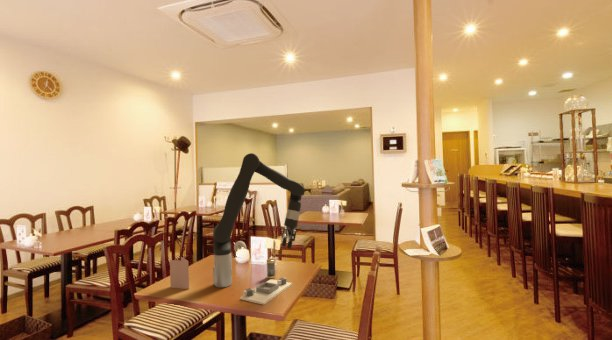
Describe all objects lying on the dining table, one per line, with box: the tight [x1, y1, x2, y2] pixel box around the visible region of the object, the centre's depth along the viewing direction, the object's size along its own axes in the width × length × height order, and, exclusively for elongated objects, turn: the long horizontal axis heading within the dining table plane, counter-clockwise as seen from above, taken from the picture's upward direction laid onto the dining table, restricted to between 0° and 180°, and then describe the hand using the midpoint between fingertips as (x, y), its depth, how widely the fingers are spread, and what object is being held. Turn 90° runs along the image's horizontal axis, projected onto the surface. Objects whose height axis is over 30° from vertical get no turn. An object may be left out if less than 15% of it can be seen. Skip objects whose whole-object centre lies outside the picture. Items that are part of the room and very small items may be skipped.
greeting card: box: [169, 256, 190, 290], centre depth 163 cm, size 11×7×15 cm, turn 41°
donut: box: [233, 240, 247, 253], centre depth 224 cm, size 10×4×10 cm, turn 71°
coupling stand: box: [239, 277, 293, 306], centre depth 154 cm, size 14×26×4 cm, turn 152°
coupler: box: [266, 258, 276, 280], centre depth 175 cm, size 5×5×10 cm
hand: (286, 247), depth 169 cm, fingers open, 8 cm apart
